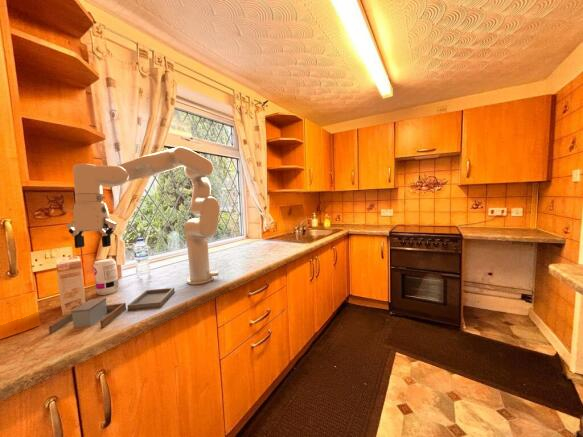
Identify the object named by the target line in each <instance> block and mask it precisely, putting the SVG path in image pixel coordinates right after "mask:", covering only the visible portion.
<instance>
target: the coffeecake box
mask: <svg viewBox="0 0 583 437" xmlns="http://www.w3.org/2000/svg"><path fill="white" fill-rule="evenodd" d="M55 260H56V261H55V264H56V265H55V266H56V273H57V284H58V290H59V300H60V308H61V312H62V313H61V315H62V317H65V316H67V315H68V314H70V313H71V311H72V310H74V309H76V308H77V307H79V306H81V305H82V304H84V303H86V302H87V301H86V294H85V286H84V285H85V284H84V278H83V277H84V275H83V268H82V260H81V257H80V256H79V255H74V256H67V257H66V256H65V257H61V258H56V259H55Z"/></svg>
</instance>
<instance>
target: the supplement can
mask: <svg viewBox="0 0 583 437" xmlns="http://www.w3.org/2000/svg"><path fill="white" fill-rule="evenodd" d="M92 266H93V275H94V282H95V292H96V294H97V295H99V296H105V295H110V294H114V293H116V292H118V290H119V289H120V286H119V277H118V266H117V261H116V260H115V259H114V258H105V259H100V260H95V261H94V263H93V265H92Z"/></svg>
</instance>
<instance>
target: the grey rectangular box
mask: <svg viewBox="0 0 583 437" xmlns="http://www.w3.org/2000/svg"><path fill="white" fill-rule="evenodd" d="M106 305H107V298H106V297H103V298H95V299H94V298H93V299H89V300H87V301H86V303H84V304H82V305H81V306H79V307H77V308H76V309H74V310H72V311H71V313H72V317H73V321H72V325H73V329H78V328H85V327H92V326H93V325H95V324H96V323H97V322H98V321H101V320H102V319H103V318H104V317H106V316H107V315H108V312H107V307H106Z"/></svg>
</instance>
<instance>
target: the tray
mask: <svg viewBox="0 0 583 437" xmlns="http://www.w3.org/2000/svg"><path fill="white" fill-rule="evenodd" d="M174 293H175V287H166V288H155V289H147V290H145V291H143V292H142V293H141V294H140V295H138V296H137V297H136V298H135V299H134V300H132V301H131V302H130V303H129V304H128V305H127V304H126V307H127V312H129V311H137V310H138V311H139V310H145V309H146V310H147V309H156V308H157V309H159V308H162V306H163V305H164V304H165V303H166V302H167V301H168V300H169V299H170V297H172V295H173V294H174Z"/></svg>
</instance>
